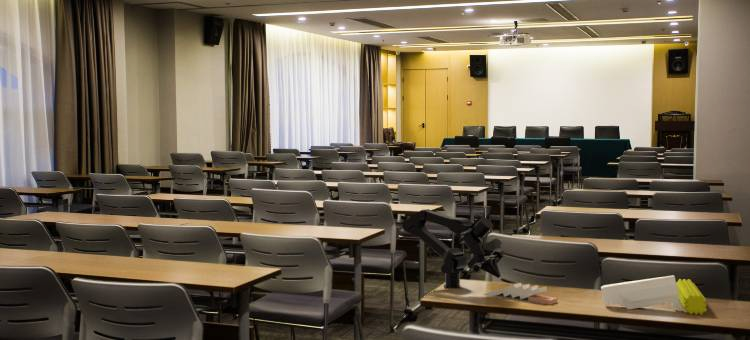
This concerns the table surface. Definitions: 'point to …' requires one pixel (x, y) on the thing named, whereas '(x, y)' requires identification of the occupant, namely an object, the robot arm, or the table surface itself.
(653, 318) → the table surface
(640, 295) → the shelf bracket
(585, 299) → the table surface
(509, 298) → the grey serrated plate
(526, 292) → the tile
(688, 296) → the decorative object
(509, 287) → the tile
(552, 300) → the tile end
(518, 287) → the tile
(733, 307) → the table surface
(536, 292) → the tile
